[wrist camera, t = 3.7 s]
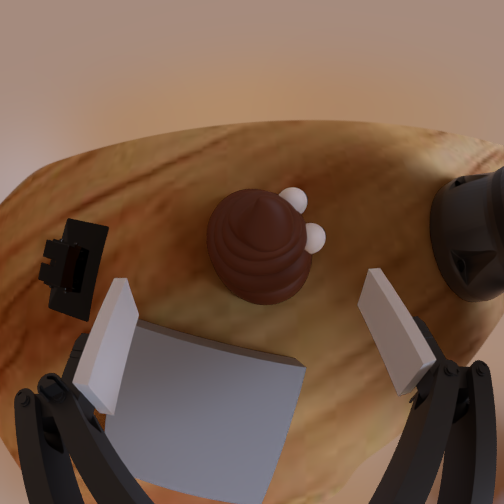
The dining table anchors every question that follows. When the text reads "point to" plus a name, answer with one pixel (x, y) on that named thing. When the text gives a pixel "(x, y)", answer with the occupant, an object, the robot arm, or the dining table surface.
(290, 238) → the poop emoji
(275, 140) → the dining table surface
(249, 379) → the grey block
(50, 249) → the black mounting bracket
